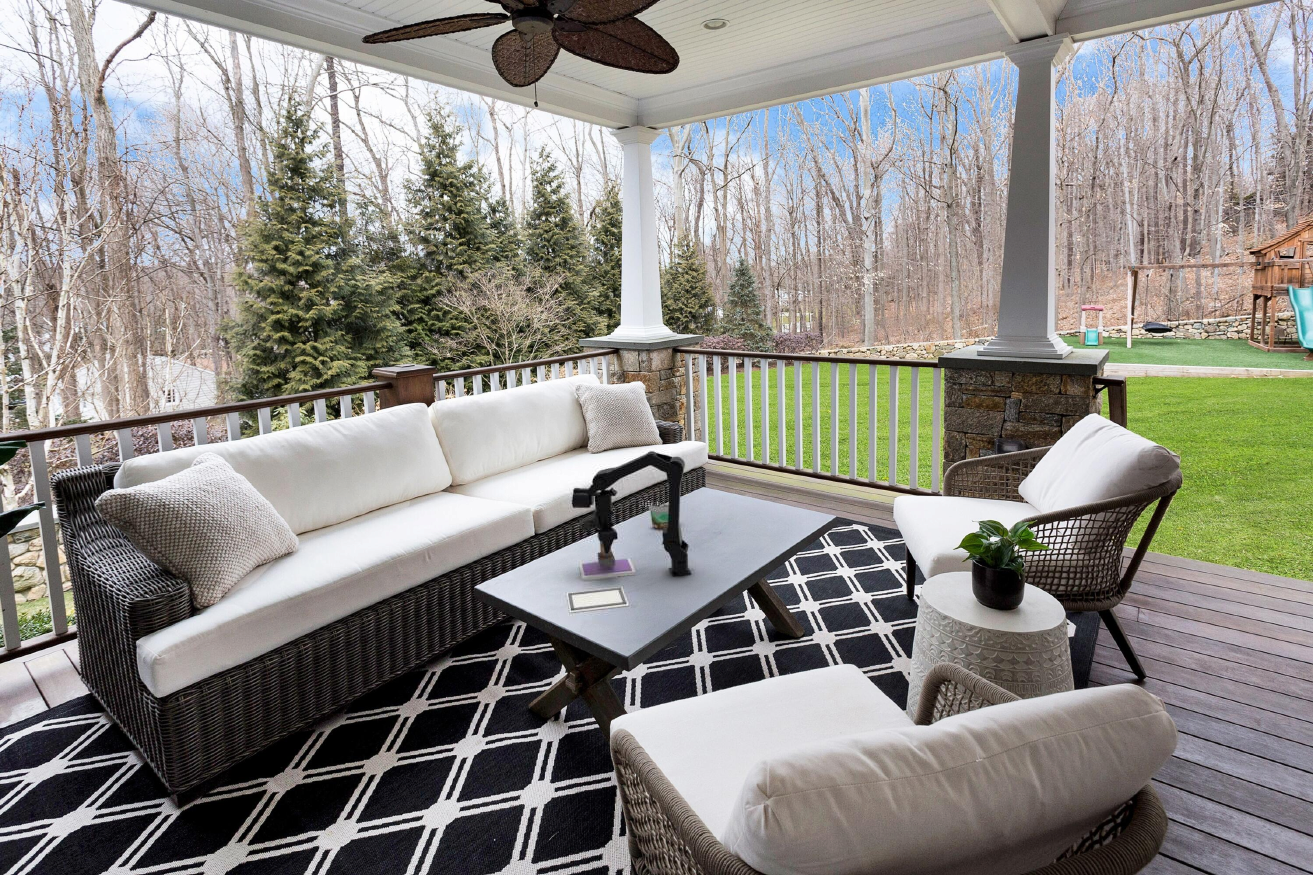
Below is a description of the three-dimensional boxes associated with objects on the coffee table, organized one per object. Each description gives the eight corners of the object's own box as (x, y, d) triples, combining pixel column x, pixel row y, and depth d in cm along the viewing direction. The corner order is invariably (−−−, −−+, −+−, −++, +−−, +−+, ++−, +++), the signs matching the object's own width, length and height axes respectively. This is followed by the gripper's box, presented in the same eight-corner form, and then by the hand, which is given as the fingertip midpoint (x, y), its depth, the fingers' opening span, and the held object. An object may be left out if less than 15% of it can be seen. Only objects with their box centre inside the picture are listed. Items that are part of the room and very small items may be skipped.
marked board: (566, 593, 220) (566, 592, 220) (622, 587, 224) (621, 585, 224) (569, 613, 207) (569, 611, 207) (628, 606, 210) (628, 604, 210)
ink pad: (579, 567, 242) (578, 562, 241) (629, 561, 245) (629, 557, 245) (582, 580, 230) (582, 576, 230) (635, 574, 234) (635, 570, 233)
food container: (655, 532, 274) (654, 508, 272) (649, 528, 279) (648, 504, 277) (683, 528, 278) (682, 504, 276) (677, 523, 284) (676, 500, 282)
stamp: (598, 559, 240) (596, 534, 238) (612, 557, 241) (610, 533, 239) (600, 566, 233) (598, 541, 231) (615, 565, 234) (613, 540, 232)
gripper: (577, 502, 240) (580, 544, 244) (582, 518, 223) (585, 564, 226) (609, 499, 243) (611, 541, 246) (616, 515, 225) (618, 560, 228)
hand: (606, 551), depth 236 cm, fingers closed on stamp, 4 cm apart
